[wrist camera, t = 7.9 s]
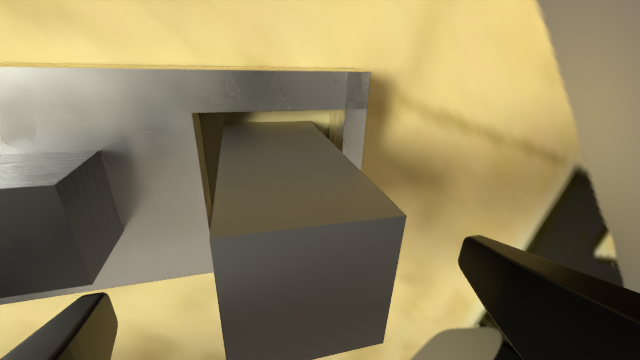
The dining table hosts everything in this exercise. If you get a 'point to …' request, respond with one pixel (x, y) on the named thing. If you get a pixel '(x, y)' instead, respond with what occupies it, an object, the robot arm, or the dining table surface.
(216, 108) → the grey board with hole
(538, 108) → the dining table surface
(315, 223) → the plug
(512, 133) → the dining table surface
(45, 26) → the dining table surface
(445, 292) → the dining table surface
